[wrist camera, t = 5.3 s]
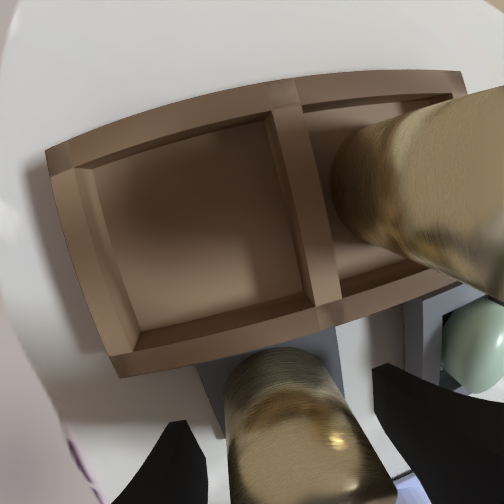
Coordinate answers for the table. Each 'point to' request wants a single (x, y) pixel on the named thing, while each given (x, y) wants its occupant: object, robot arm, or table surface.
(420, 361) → the button housing
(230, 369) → the mat
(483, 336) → the button
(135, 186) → the brown wooden tray
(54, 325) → the table surface
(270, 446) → the cylinder
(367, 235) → the brass round-topped piece
